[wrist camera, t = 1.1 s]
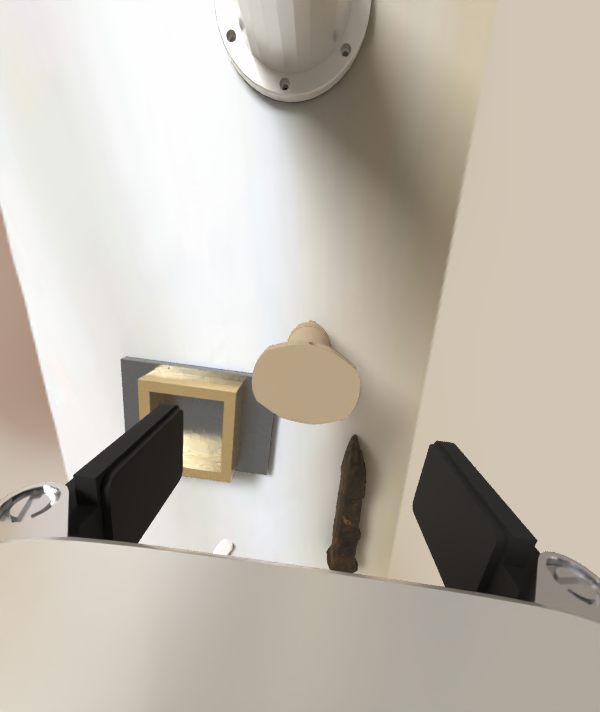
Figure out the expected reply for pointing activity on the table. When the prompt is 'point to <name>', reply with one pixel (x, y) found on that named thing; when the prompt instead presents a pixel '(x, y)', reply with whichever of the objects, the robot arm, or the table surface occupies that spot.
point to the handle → (306, 378)
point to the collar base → (203, 414)
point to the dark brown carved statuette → (348, 511)
